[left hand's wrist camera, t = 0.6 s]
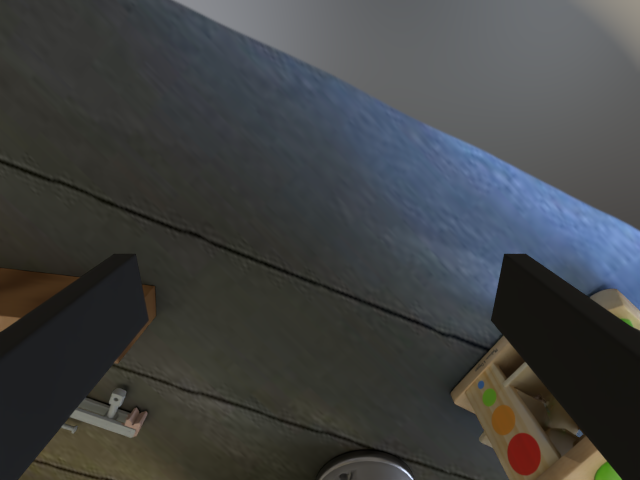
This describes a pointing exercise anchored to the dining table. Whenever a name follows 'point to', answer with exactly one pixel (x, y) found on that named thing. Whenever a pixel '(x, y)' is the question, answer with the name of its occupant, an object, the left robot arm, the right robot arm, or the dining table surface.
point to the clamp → (109, 415)
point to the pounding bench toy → (534, 413)
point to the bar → (46, 296)
